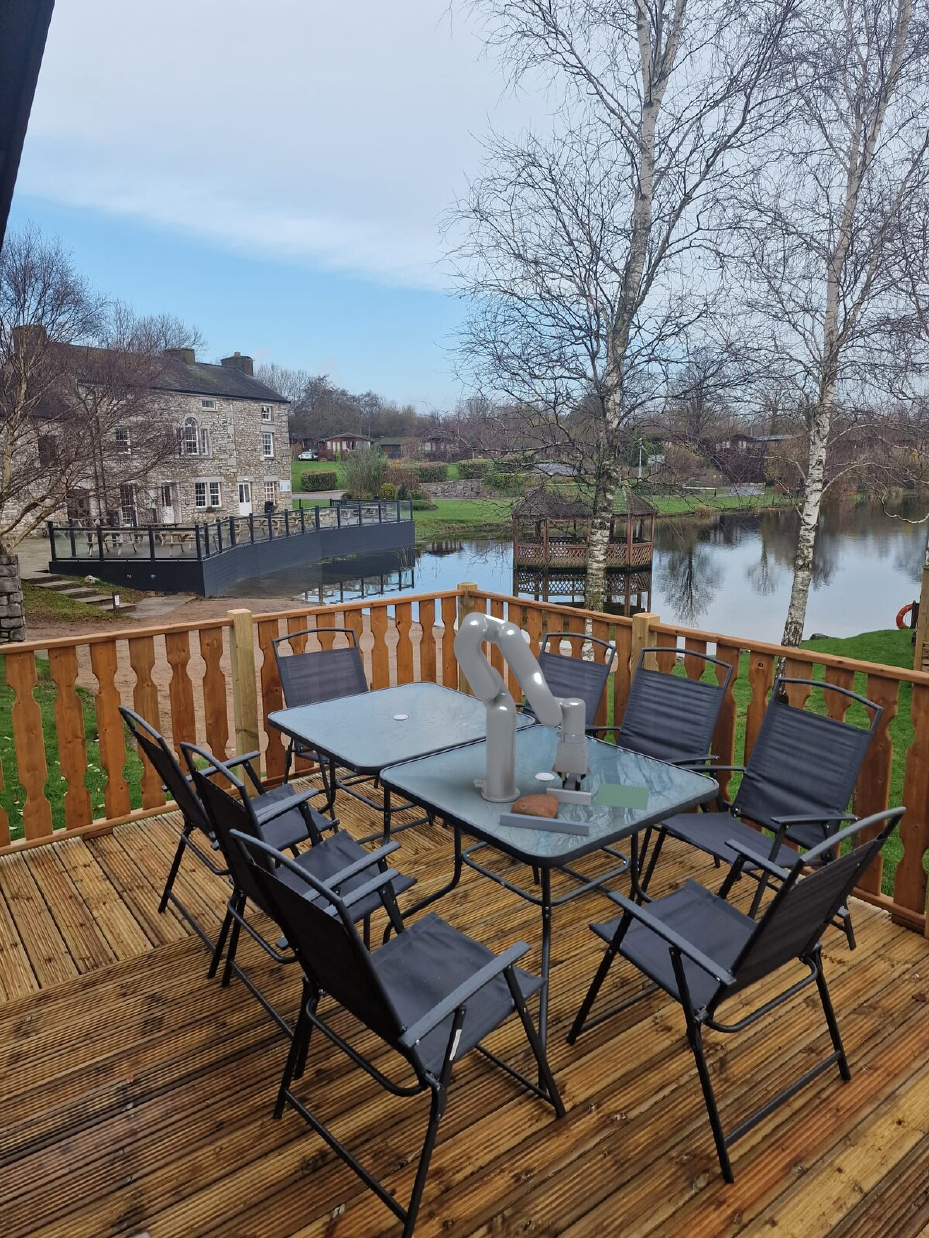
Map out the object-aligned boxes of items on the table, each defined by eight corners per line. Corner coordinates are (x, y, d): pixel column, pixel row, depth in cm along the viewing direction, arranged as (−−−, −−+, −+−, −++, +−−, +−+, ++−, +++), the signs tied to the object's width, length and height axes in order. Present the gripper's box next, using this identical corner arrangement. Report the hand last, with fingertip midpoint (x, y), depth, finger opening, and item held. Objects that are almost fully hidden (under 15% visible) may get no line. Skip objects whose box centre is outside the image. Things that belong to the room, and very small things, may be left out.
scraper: (546, 801, 240) (546, 786, 239) (553, 783, 253) (553, 769, 252) (590, 806, 237) (590, 792, 235) (595, 788, 249) (596, 774, 248)
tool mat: (594, 804, 238) (594, 803, 238) (600, 783, 255) (600, 782, 255) (646, 811, 233) (646, 810, 233) (649, 789, 250) (649, 788, 250)
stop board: (499, 824, 224) (500, 814, 224) (501, 821, 226) (501, 812, 225) (588, 835, 217) (588, 826, 216) (589, 832, 219) (589, 823, 218)
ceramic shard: (577, 796, 232) (549, 818, 222) (575, 813, 235) (548, 837, 224) (537, 778, 241) (509, 799, 230) (536, 795, 243) (508, 817, 233)
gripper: (545, 738, 240) (544, 793, 243) (597, 743, 235) (595, 799, 238) (549, 731, 247) (548, 784, 250) (600, 735, 242) (598, 790, 246)
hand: (571, 791), depth 244 cm, fingers closed on scraper, 3 cm apart
